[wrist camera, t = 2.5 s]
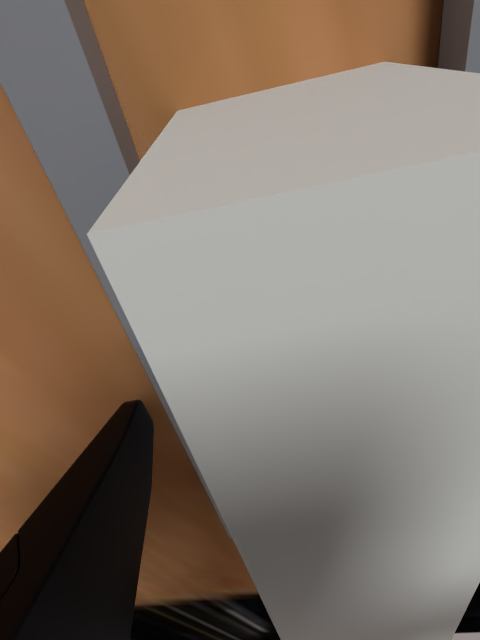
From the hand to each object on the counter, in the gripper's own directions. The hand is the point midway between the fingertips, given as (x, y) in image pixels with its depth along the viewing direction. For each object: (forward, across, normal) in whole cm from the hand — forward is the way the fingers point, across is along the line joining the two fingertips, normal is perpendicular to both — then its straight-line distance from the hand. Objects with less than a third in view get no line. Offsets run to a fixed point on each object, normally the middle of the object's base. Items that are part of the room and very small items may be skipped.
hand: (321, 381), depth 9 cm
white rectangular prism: (+2, 0, 0) cm, 2 cm away
